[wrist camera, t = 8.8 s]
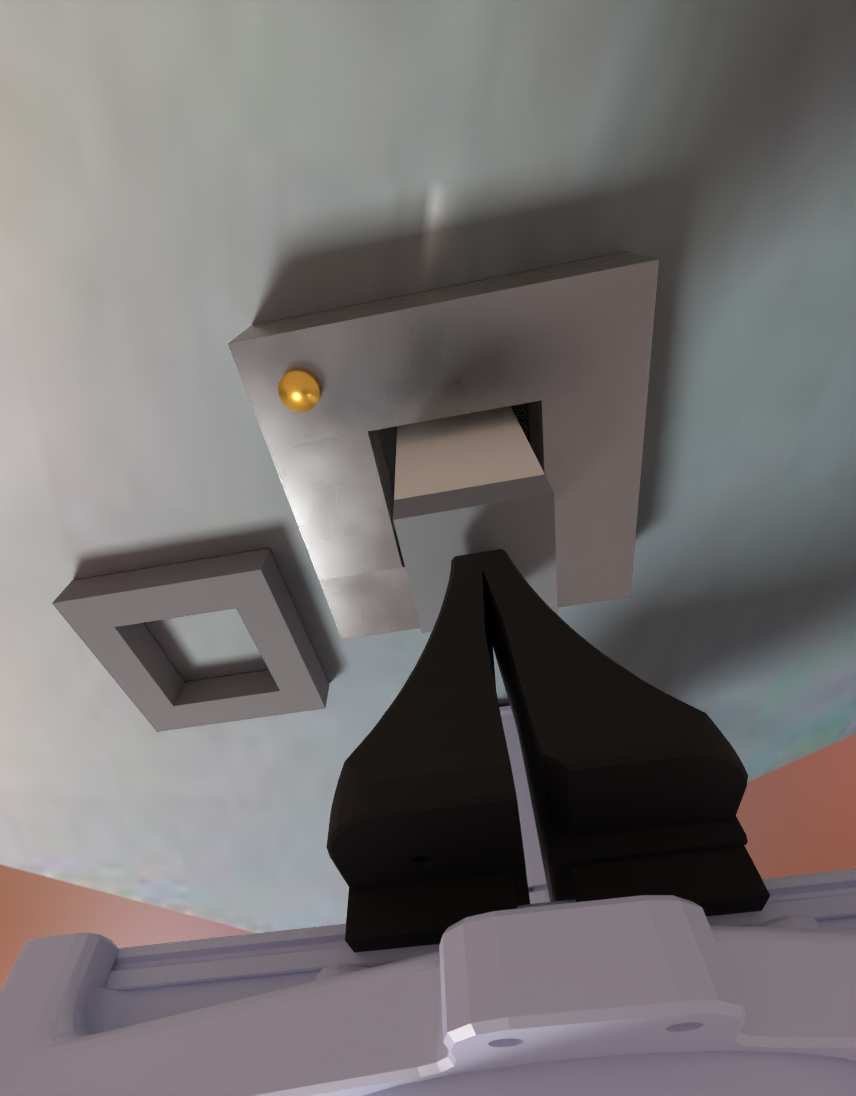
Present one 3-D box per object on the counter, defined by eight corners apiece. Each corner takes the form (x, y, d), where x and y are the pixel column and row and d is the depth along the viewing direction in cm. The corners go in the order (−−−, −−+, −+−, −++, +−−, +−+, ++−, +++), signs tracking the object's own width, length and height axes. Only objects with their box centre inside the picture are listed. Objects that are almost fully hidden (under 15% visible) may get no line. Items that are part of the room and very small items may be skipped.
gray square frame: (329, 684, 26) (325, 708, 25) (168, 707, 27) (157, 731, 26) (269, 548, 21) (260, 569, 20) (72, 580, 22) (52, 603, 20)
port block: (609, 559, 22) (633, 601, 20) (347, 600, 23) (341, 644, 21) (625, 251, 15) (664, 260, 13) (251, 325, 16) (224, 346, 14)
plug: (514, 494, 20) (557, 612, 14) (417, 511, 20) (421, 632, 15) (506, 398, 18) (554, 492, 12) (397, 418, 18) (393, 519, 12)
